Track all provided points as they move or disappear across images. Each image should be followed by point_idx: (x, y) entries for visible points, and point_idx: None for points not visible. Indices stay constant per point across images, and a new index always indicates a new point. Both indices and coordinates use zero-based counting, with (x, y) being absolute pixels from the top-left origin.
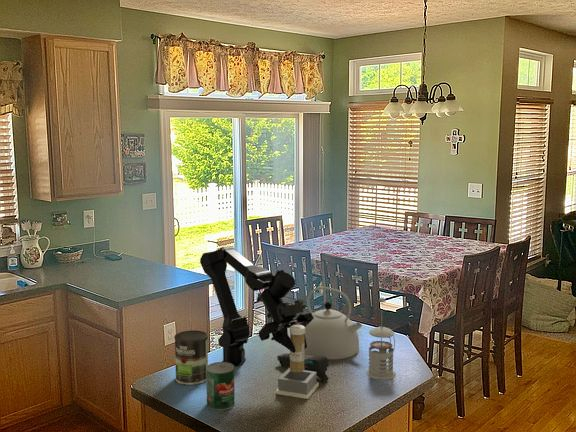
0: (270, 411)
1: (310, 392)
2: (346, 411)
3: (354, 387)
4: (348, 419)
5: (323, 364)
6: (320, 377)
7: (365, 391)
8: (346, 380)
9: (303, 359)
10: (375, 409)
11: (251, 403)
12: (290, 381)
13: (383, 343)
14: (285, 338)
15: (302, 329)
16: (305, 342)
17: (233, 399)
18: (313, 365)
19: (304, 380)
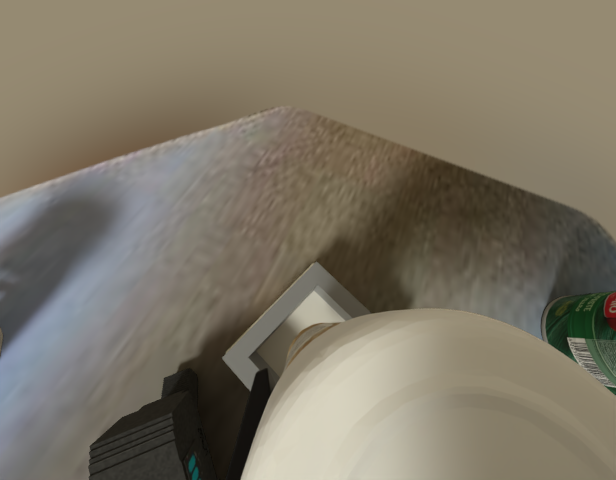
0: (440, 236)
1: (294, 282)
2: (250, 161)
3: (125, 284)
4: (268, 129)
5: (147, 413)
6: (192, 395)
7: (117, 243)
8: (105, 355)
9: (303, 333)
10: (176, 143)
11: (487, 306)
12: (367, 310)
13: None
14: None
15: (377, 321)
16: (256, 408)
17: (565, 310)
18: (195, 439)
19: (275, 376)
